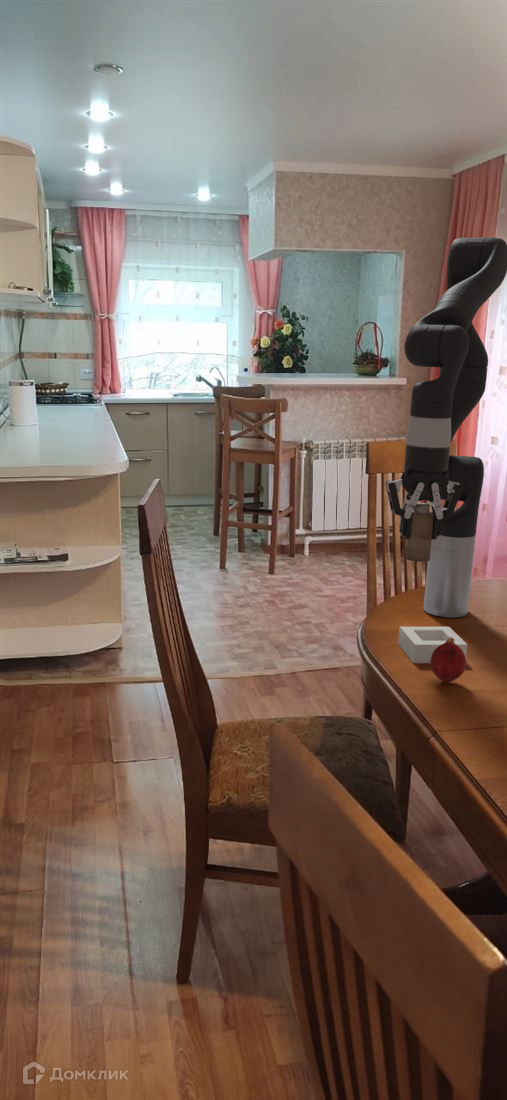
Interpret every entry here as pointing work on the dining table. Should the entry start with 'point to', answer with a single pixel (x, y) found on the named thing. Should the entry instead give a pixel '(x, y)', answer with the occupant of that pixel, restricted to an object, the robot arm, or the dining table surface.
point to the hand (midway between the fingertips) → (419, 537)
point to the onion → (448, 661)
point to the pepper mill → (420, 534)
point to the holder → (426, 641)
